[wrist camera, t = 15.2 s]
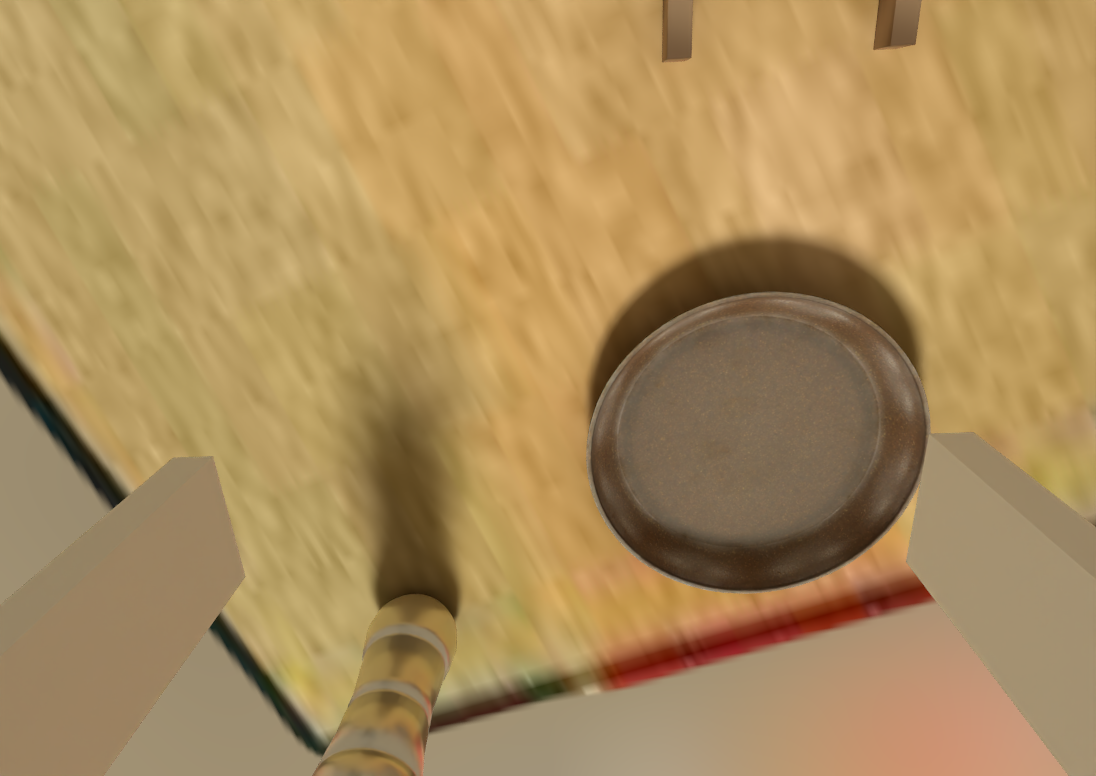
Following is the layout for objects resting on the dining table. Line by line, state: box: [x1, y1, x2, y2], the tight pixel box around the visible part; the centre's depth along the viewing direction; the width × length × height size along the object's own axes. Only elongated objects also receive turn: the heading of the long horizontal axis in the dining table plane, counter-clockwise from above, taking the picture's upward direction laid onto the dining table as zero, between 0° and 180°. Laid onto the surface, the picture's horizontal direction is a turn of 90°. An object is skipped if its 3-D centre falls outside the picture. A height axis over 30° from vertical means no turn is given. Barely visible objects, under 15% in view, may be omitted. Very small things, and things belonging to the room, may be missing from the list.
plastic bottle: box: [312, 594, 457, 776], centre depth 41 cm, size 6×7×20 cm
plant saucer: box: [586, 292, 930, 594], centre depth 42 cm, size 21×21×3 cm
